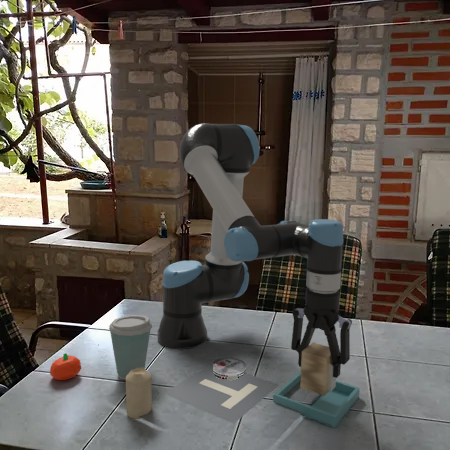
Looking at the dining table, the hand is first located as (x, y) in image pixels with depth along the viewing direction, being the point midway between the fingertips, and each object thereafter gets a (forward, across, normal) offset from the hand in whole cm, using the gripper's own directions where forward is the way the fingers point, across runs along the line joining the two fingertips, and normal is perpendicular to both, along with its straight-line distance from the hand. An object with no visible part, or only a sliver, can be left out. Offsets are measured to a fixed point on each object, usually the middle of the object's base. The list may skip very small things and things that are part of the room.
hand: (318, 384), depth 109 cm
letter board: (+4, -20, -10) cm, 23 cm away
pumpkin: (+4, -56, -28) cm, 63 cm away
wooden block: (0, 0, 0) cm, 1 cm away
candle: (+4, -30, -28) cm, 41 cm away
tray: (+4, 0, 0) cm, 4 cm away
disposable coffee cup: (+4, -44, -17) cm, 47 cm away
